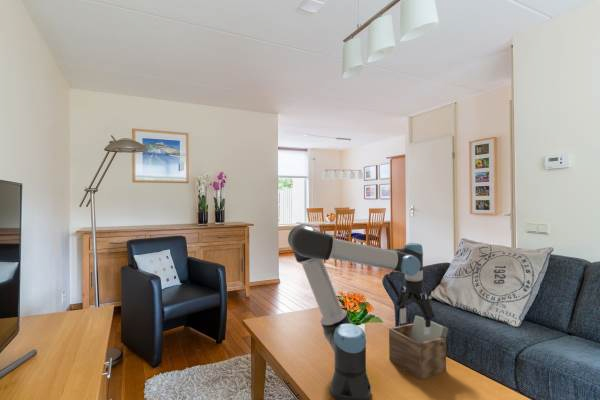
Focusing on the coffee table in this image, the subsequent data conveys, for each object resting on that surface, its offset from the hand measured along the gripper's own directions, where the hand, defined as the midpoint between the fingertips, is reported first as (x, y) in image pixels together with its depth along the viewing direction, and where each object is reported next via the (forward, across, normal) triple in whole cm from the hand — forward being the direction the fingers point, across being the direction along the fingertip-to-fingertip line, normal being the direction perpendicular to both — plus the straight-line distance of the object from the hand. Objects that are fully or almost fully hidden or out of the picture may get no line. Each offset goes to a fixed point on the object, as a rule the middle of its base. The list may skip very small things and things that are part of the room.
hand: (414, 328), depth 140 cm
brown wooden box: (+16, 0, -1) cm, 16 cm away
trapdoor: (+8, 0, -9) cm, 12 cm away
